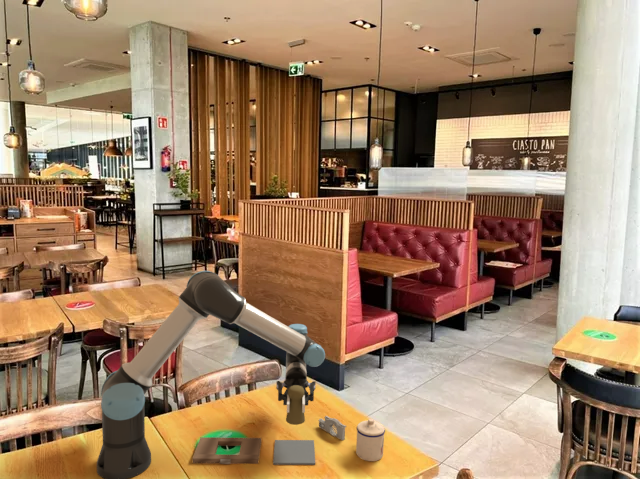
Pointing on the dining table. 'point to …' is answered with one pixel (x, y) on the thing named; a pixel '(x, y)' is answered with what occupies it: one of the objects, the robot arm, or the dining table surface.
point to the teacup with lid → (370, 440)
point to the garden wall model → (328, 427)
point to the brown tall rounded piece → (295, 405)
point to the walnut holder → (208, 455)
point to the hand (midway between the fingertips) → (295, 408)
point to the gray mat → (294, 452)
